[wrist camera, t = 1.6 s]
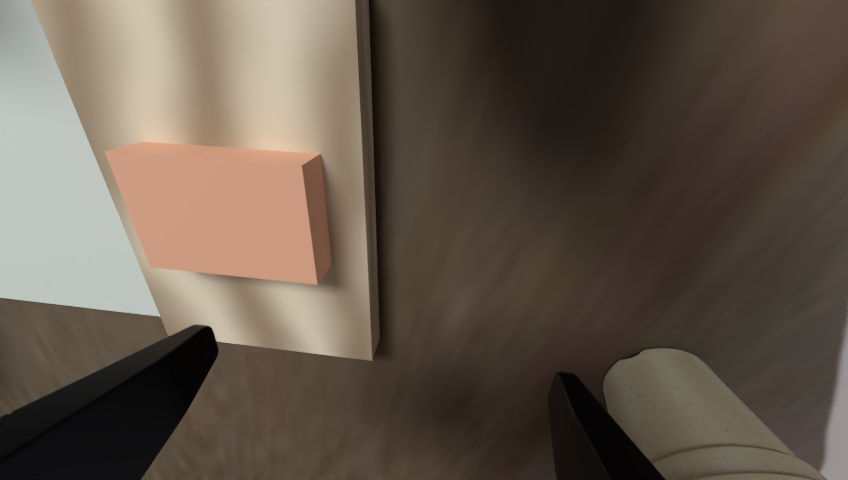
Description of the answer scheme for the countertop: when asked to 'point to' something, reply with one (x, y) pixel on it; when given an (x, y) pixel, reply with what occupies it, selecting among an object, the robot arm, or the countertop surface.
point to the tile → (226, 209)
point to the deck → (239, 140)
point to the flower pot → (694, 421)
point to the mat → (55, 187)
